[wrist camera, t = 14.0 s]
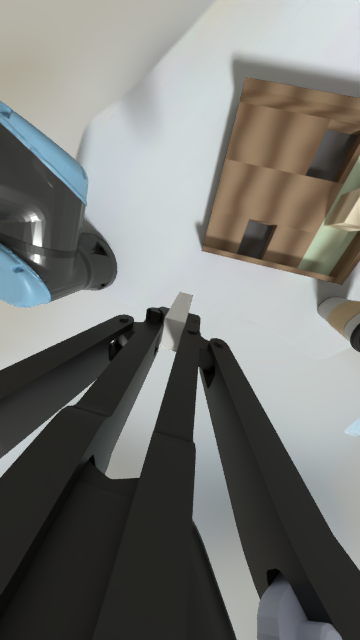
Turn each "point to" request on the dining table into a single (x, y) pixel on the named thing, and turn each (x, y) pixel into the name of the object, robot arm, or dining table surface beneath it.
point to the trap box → (288, 181)
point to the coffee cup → (343, 318)
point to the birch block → (346, 212)
